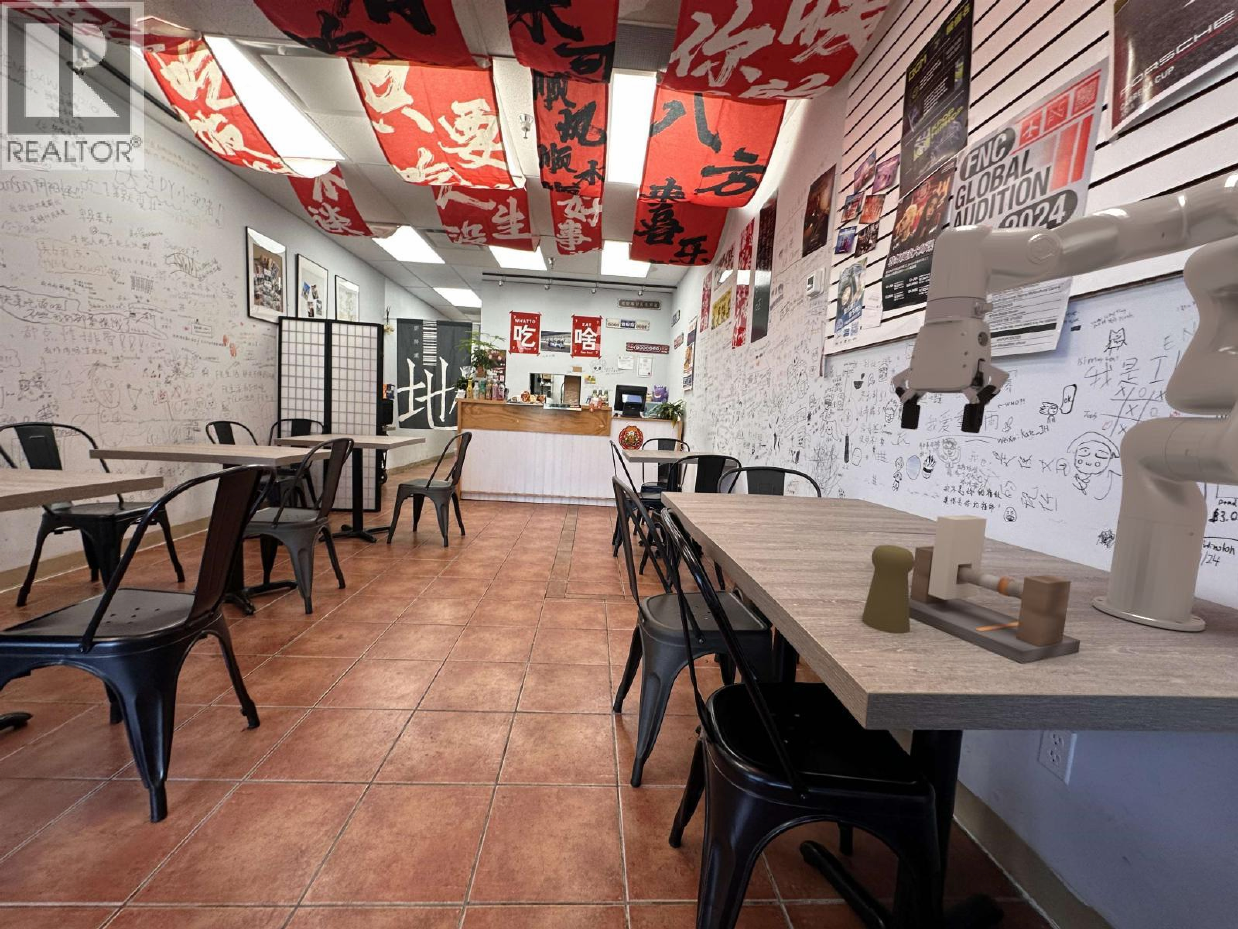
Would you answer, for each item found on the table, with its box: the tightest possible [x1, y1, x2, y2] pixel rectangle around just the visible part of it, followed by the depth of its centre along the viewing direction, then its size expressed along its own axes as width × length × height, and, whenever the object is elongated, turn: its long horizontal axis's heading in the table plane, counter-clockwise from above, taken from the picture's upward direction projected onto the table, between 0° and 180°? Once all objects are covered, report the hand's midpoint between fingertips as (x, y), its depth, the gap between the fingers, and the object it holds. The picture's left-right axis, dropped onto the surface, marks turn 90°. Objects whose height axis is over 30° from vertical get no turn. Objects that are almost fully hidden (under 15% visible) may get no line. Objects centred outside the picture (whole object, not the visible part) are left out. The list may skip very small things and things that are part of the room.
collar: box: [928, 514, 987, 600], centre depth 76 cm, size 7×2×12 cm, turn 113°
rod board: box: [909, 545, 1081, 664], centre depth 73 cm, size 12×18×10 cm, turn 23°
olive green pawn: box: [861, 544, 915, 634], centre depth 72 cm, size 6×6×11 cm
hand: (937, 430), depth 79 cm, fingers open, 9 cm apart
